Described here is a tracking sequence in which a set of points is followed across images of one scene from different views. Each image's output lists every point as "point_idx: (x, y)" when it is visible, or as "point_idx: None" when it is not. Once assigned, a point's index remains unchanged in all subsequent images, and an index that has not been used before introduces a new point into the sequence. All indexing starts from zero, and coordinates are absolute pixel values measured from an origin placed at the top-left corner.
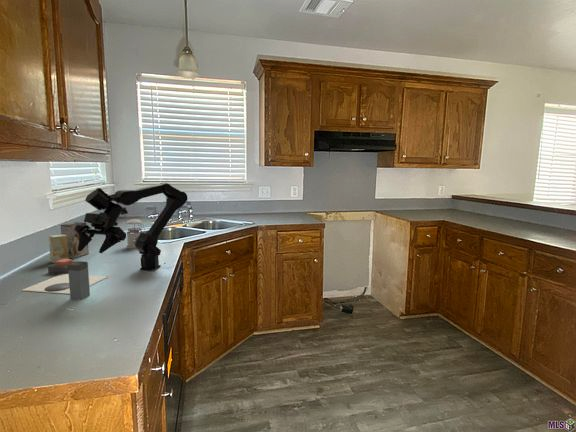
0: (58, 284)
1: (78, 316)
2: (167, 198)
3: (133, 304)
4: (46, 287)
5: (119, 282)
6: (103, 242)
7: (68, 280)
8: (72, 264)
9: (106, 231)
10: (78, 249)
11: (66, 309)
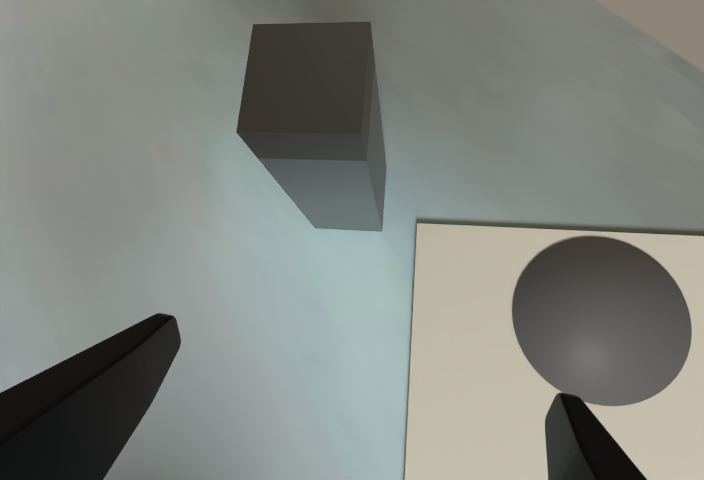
0: (649, 364)
1: (223, 15)
2: None
3: (50, 151)
4: (682, 298)
5: (254, 466)
6: (19, 425)
7: (654, 466)
8: (327, 33)
9: None
10: (564, 397)
11: None
